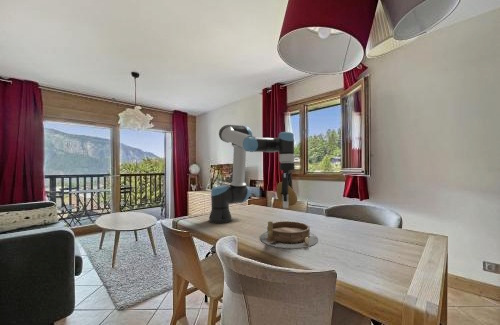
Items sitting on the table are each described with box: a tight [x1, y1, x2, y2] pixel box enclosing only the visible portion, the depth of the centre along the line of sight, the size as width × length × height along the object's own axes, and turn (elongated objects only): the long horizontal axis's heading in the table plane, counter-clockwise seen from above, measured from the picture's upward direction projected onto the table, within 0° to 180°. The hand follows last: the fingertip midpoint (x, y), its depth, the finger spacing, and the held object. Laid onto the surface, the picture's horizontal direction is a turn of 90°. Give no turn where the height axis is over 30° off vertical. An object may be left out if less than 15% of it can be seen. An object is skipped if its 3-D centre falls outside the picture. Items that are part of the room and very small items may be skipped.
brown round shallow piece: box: [266, 220, 311, 243], centre depth 115 cm, size 25×21×9 cm
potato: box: [276, 181, 298, 207], centre depth 116 cm, size 10×14×8 cm
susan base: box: [259, 231, 319, 250], centre depth 117 cm, size 29×29×4 cm
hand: (287, 205), depth 117 cm, fingers closed on potato, 11 cm apart
